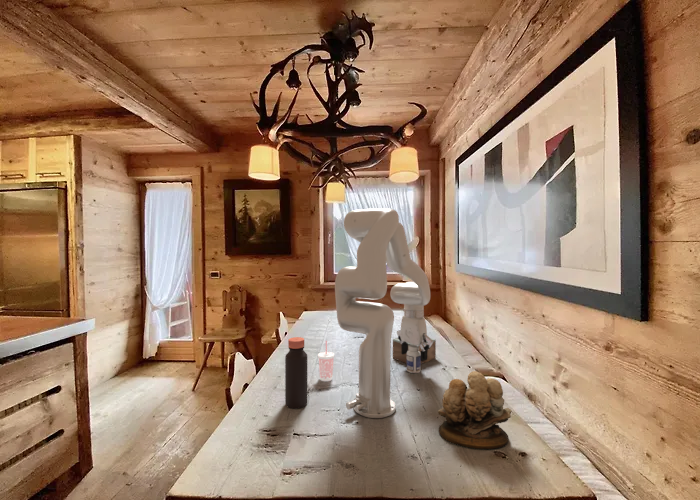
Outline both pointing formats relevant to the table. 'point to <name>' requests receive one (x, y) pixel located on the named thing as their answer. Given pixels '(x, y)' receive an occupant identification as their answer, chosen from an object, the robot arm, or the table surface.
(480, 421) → the owl figurine
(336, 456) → the table surface
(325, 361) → the beverage cup
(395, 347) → the box
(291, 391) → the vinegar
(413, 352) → the pill bottle
